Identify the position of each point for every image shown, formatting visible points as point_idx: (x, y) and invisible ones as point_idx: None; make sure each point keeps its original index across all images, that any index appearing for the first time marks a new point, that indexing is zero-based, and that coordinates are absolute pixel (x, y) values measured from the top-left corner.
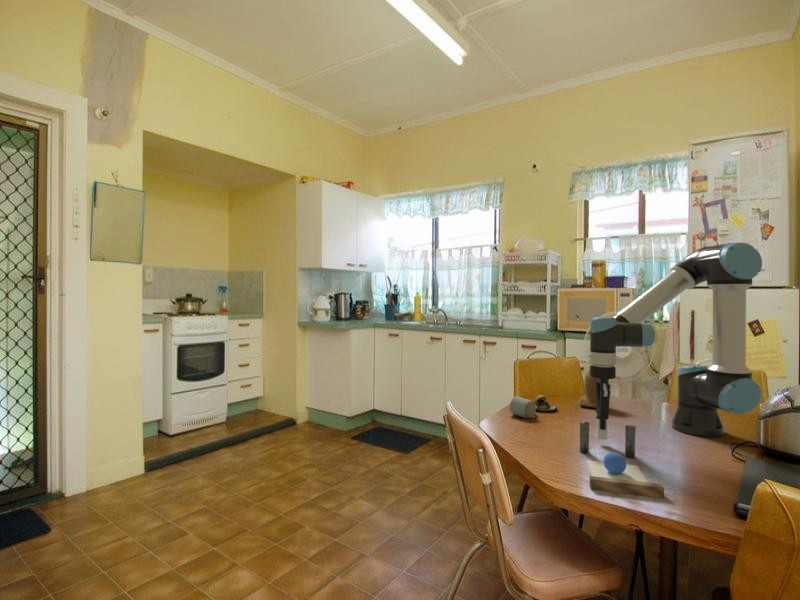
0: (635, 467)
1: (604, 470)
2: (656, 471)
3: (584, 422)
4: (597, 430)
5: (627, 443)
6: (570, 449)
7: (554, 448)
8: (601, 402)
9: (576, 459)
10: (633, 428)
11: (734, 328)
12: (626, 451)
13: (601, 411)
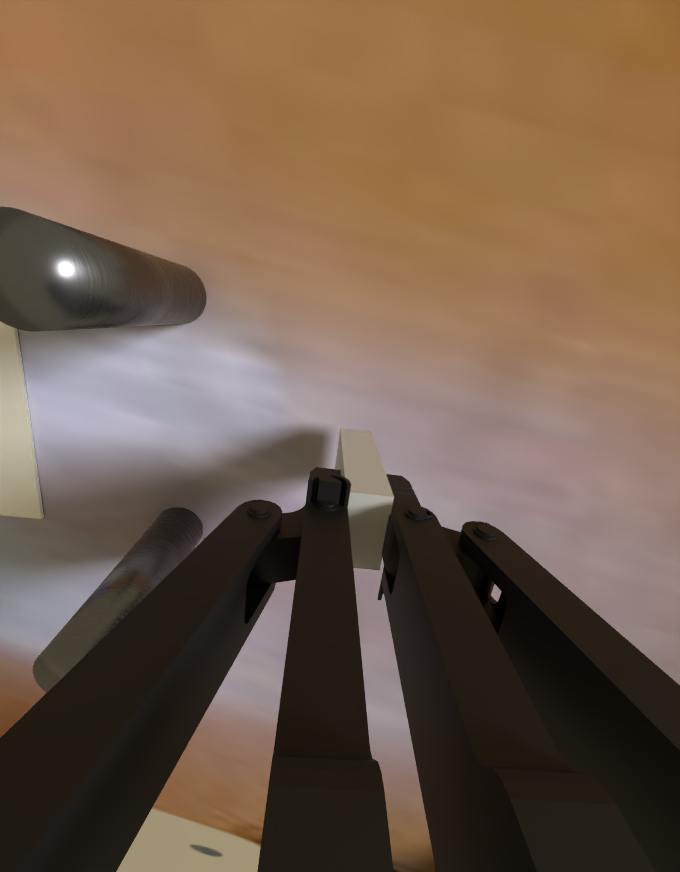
0: (5, 503)
1: None
2: (11, 574)
3: (27, 273)
4: (359, 448)
5: (123, 558)
6: (205, 205)
7: (194, 67)
8: (54, 695)
9: (10, 198)
10: (45, 679)
11: None
12: (153, 525)
13: (191, 564)
